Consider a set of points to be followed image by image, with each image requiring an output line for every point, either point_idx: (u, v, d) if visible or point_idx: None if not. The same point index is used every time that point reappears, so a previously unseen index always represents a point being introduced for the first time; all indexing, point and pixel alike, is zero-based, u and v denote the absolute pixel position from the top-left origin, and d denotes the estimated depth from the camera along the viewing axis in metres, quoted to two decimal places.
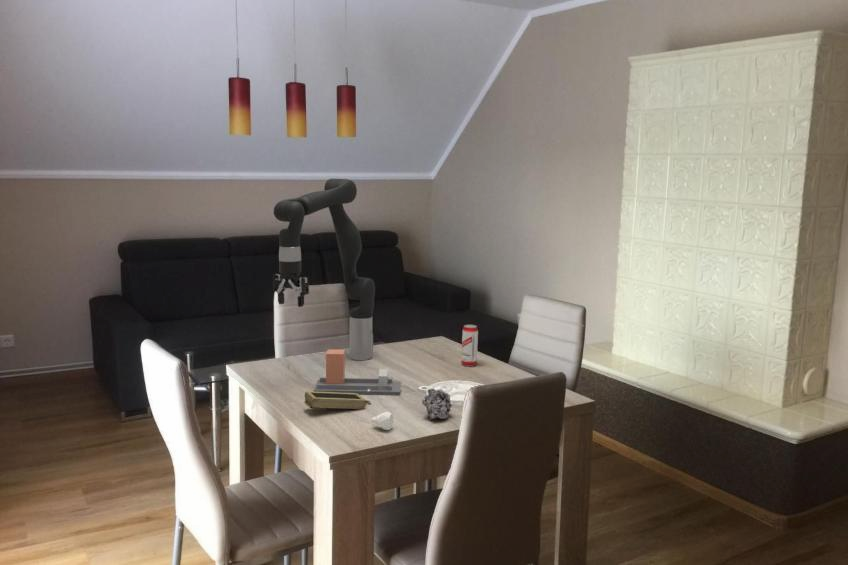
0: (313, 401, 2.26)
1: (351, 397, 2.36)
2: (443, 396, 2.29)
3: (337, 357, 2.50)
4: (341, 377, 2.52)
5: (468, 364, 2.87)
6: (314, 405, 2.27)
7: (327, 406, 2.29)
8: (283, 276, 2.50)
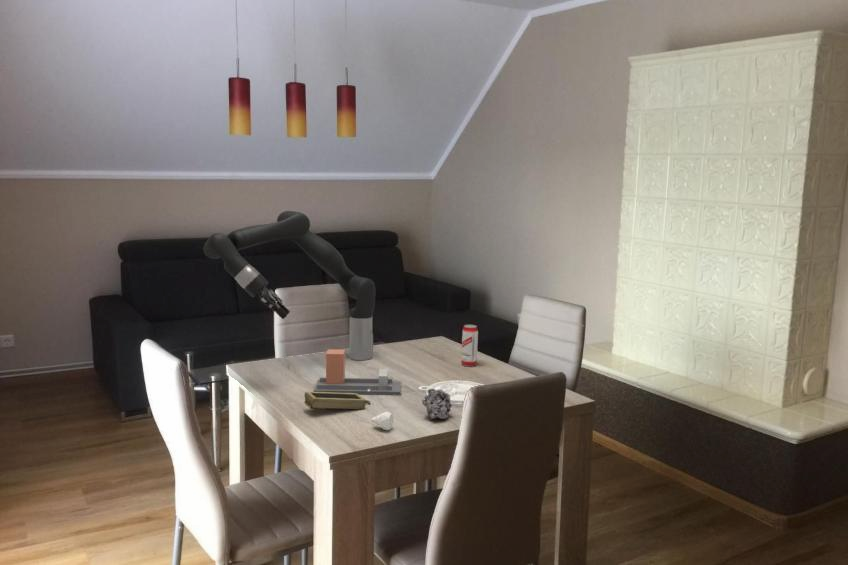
0: (313, 401, 2.26)
1: (351, 397, 2.36)
2: (443, 396, 2.29)
3: (337, 357, 2.50)
4: (341, 377, 2.52)
5: (468, 364, 2.87)
6: (314, 405, 2.27)
7: (327, 406, 2.29)
8: None
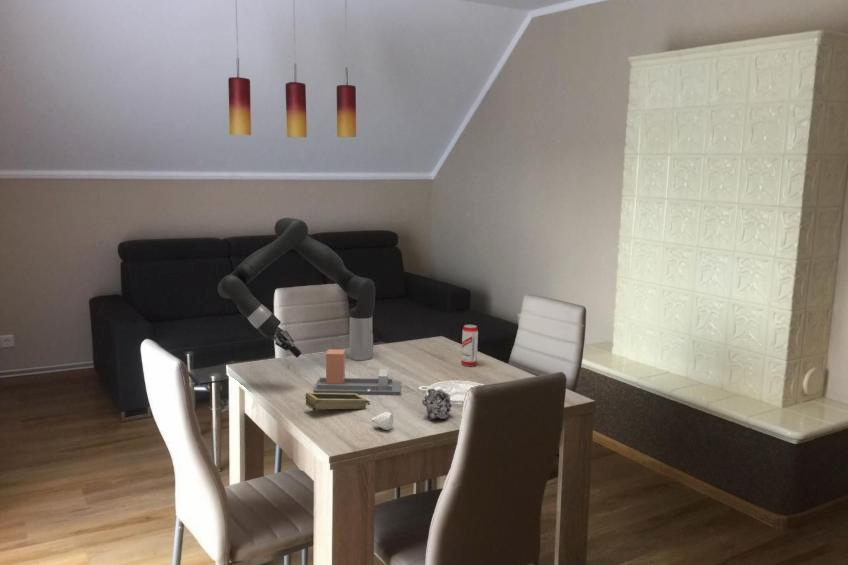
0: (316, 402, 2.25)
1: (352, 397, 2.35)
2: (443, 396, 2.29)
3: (337, 357, 2.50)
4: (341, 377, 2.52)
5: (468, 364, 2.87)
6: (317, 406, 2.26)
7: (329, 407, 2.28)
8: None
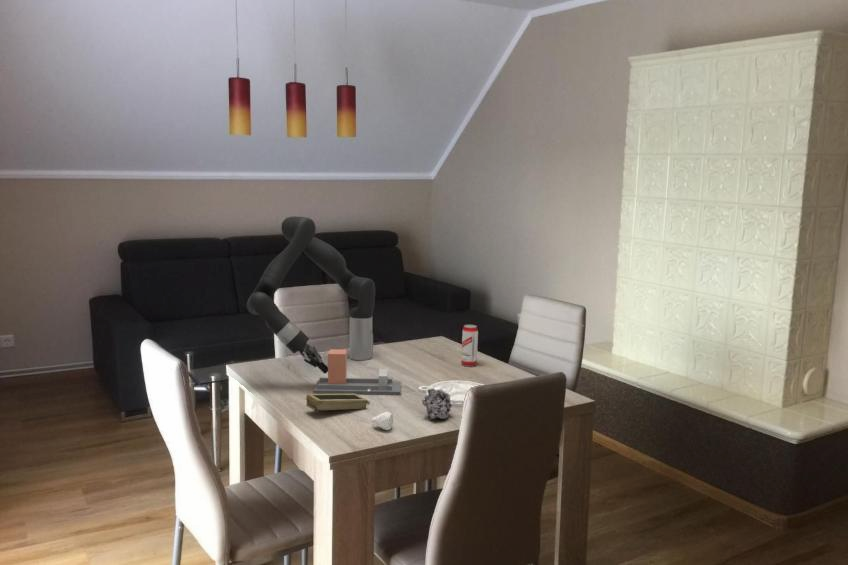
0: (318, 403, 2.24)
1: (352, 397, 2.35)
2: (443, 396, 2.29)
3: (338, 357, 2.50)
4: (343, 377, 2.52)
5: (468, 364, 2.87)
6: (319, 407, 2.25)
7: (331, 408, 2.28)
8: None
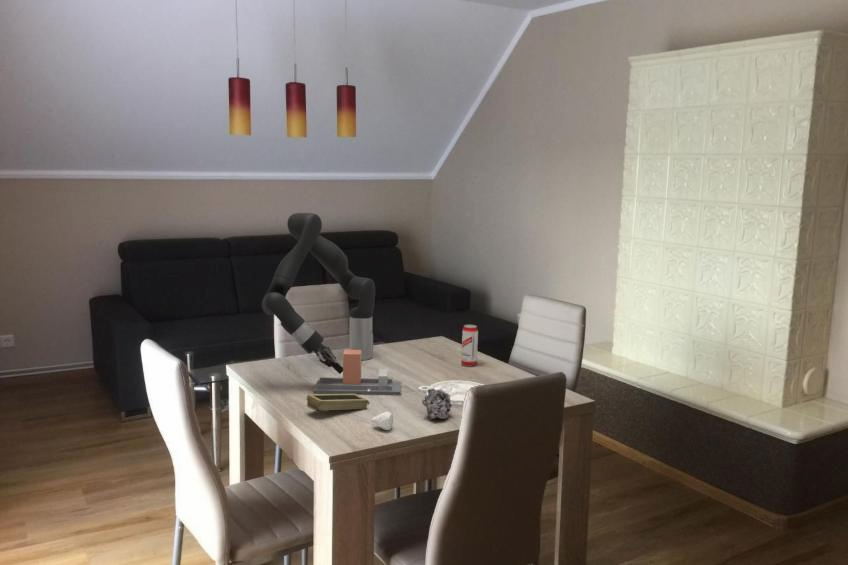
0: (319, 404, 2.24)
1: (352, 398, 2.35)
2: (443, 396, 2.29)
3: (353, 357, 2.50)
4: (358, 377, 2.52)
5: (468, 364, 2.87)
6: (320, 408, 2.25)
7: (332, 408, 2.27)
8: None
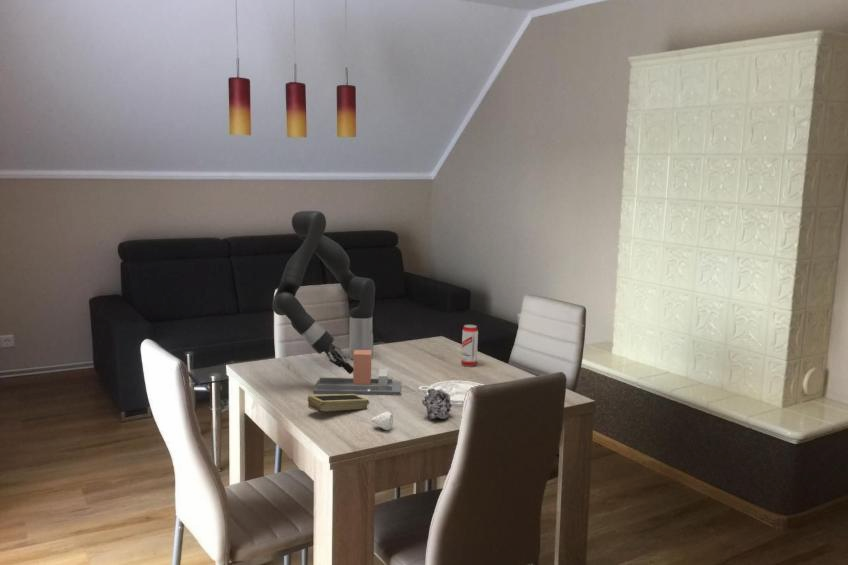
0: (321, 404, 2.24)
1: (353, 398, 2.35)
2: (443, 396, 2.29)
3: (364, 358, 2.51)
4: (368, 377, 2.52)
5: (468, 364, 2.87)
6: (322, 408, 2.24)
7: (334, 409, 2.27)
8: None
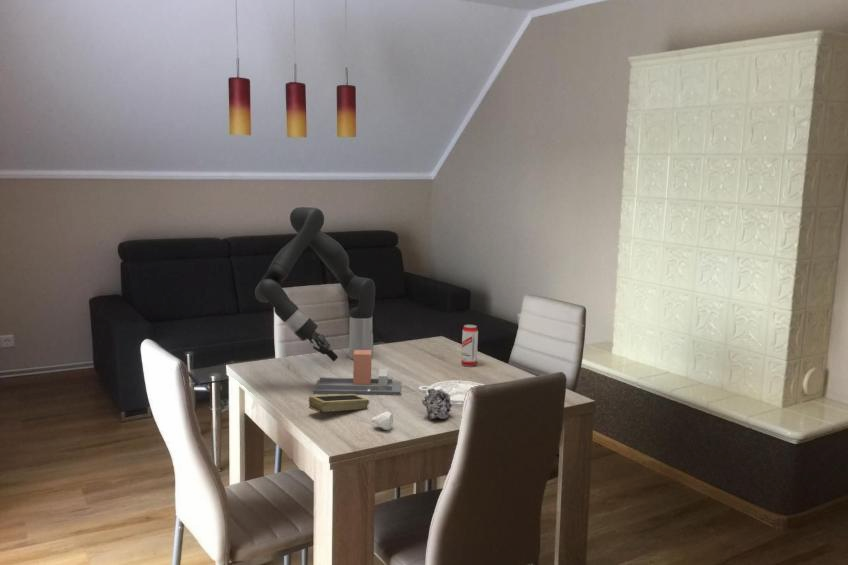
0: (323, 405, 2.23)
1: (353, 398, 2.35)
2: (443, 396, 2.29)
3: (364, 358, 2.51)
4: (368, 377, 2.52)
5: (468, 364, 2.87)
6: (324, 409, 2.24)
7: (335, 409, 2.27)
8: None
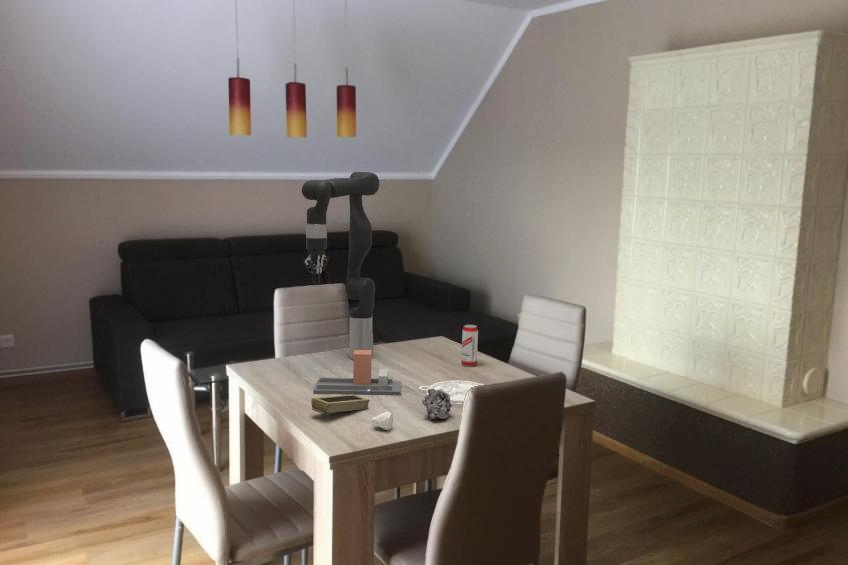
0: (328, 406, 2.22)
1: (354, 398, 2.35)
2: (443, 396, 2.29)
3: (364, 358, 2.51)
4: (368, 377, 2.52)
5: (468, 364, 2.87)
6: (328, 410, 2.23)
7: (339, 410, 2.26)
8: None
